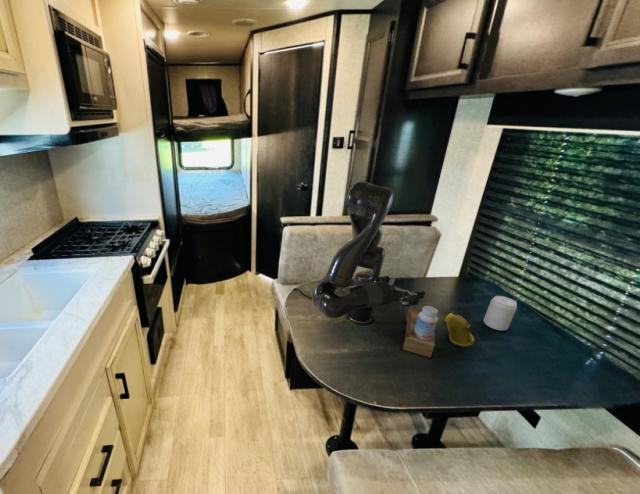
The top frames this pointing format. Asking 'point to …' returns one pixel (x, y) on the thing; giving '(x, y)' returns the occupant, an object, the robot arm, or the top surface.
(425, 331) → the pill bottle
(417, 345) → the striped tan crate
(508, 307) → the white cylinder
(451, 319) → the yellow flared lump
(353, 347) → the top surface
